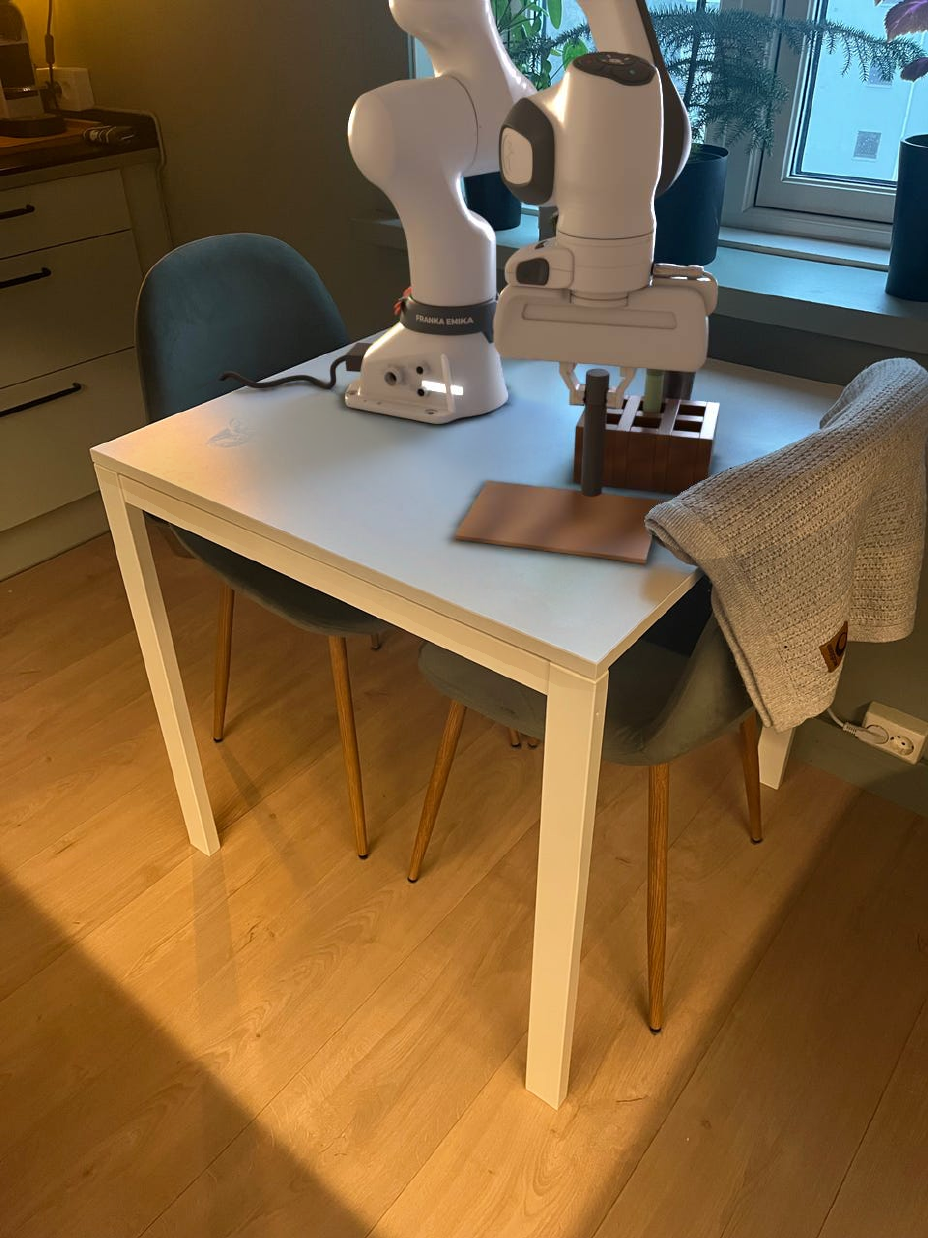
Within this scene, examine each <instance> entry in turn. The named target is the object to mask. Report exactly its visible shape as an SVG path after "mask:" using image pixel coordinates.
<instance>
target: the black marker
mask: <svg viewBox="0 0 928 1238" xmlns="http://www.w3.org/2000/svg"><path fill="white" fill-rule="evenodd" d="M610 378H611V373H610V371H609V370H607V369H604V368H591V369H588V370H587V371H586V372H585V383H584V384H585V406H584V408H585V414H584V434H583V455H582V475H581V483H580V491H581V494H582V495H584V496H587V497H596V496H599V495H601V494H603V486H602V481H603V466H604V450H605V434H606V418H607V408H606V402H607V399H606V398H607V391H608V390H609V387H610V380H611V379H610Z"/></svg>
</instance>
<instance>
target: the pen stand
mask: <svg viewBox="0 0 928 1238" xmlns="http://www.w3.org/2000/svg"><path fill="white" fill-rule="evenodd" d="M643 403H644V395H633V394H624V400H623V406H622V408H621V410H620V409H609V408H607V418H606V434H605V450H604V466H603V481H602V487H610V488H611V487H612V488H620V489H628V490H637V491H645V492H655V493H665V494H673V495H680V493H681V492H683V491H685V490H687V489H689V488H690V487H691V486H693V485H695V484H697V483H698V482H700V481H702V480H705V479H707V478H708V477H709V478H710V474H711V468H712V462H713V458H714V451H715V442H716V436H717V428H718V422H719V414H720V407H721V403H720V402H713V401H704V400H703V401H701V400H691V399H690V400H680V399H668V398H662V400H661V409H660V413H656V412H645V411H643ZM584 414H585V407H584V408H583V410H582V413H581V414H580V417H579V419H578V421H577V423H576V425H575V430H574V431H575V434H574V436H575V437H574V451H573V452H574V455H573V474H572V476H573V477H572V483H575V484H581V475H582V455H583V434H584Z"/></svg>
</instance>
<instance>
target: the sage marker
mask: <svg viewBox="0 0 928 1238" xmlns="http://www.w3.org/2000/svg"><path fill="white" fill-rule="evenodd" d="M664 374H665V370H658V369H645V383H644V393H643V396H644V403H643V411H645V412H656V413H660V409H661V400H662V390H663V380H664Z"/></svg>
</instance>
